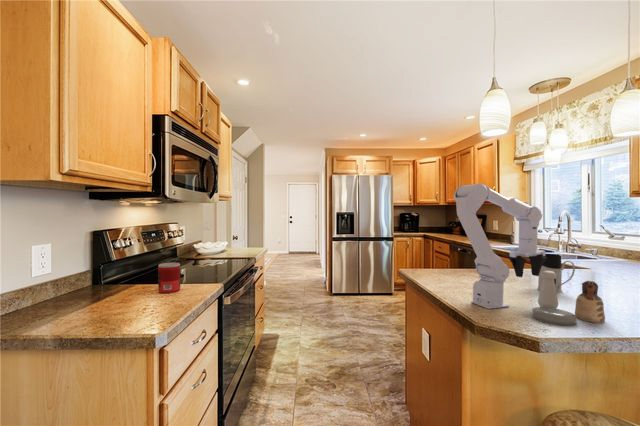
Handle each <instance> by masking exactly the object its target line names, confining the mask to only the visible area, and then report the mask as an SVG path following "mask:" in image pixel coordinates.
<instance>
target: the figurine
mask: <svg viewBox="0 0 640 426" xmlns="http://www.w3.org/2000/svg"><path fill="white" fill-rule="evenodd" d="M581 285H582V286H581V292H582V293H580V294H579V295H577V297H576V299H575V309H574V315H576V319H578V320H582V321H585V322H589V323H596V324H597V323H599V324H602V323H605V322H606V321H605V320H606V315H605V309H604V305H605V304H604V301H603V300H602V297H600V296H599V295H598V292H599V285H598V284H597V282H595V281H593V280H586V281H584V282H582V283H581Z"/></svg>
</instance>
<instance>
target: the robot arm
mask: <svg viewBox="0 0 640 426" xmlns="http://www.w3.org/2000/svg"><path fill="white" fill-rule="evenodd" d="M453 199H454V201H455V205H456V215H457V218H458V220H459V222H460V224H461V226H462V228H463V230H464V231H465V234H466V236H467V239H468V241H469V242H470V245H471V247H472V249H473V251H474V253H475V255H476V257H475V259H474V264H475V271H476V273H477V274H478V275H479V279H478V280H476V281H475V282H474V283H473V286H472V300H471V301H470V302H471V303H473V304H474V305H477V306H480V307H482V308H484V309H499V308H508V307H510V305H509V304H507V303H505V302H504V285H505V284H504V282H506V280H507V279H508V277H509V275H510V268H509V266H508V264H506V263H505V262H504V261H503V259H502V258H501V257H500V256H499V255H497V253H495V252H494V250H493V248H492V246H491V244H490V241H489V239H488V237H487V236H486V235H487V234H486V232H485V231H484V229H483V226H482V225H481V223H480V220H479V218H478V216H477V211H478V210H479V209H480V208H481V207H482V205H483V204H484V203H485V201H486V202H490V203H492V204H494V205H496V206H498V207H501V210H502V212H504V213H506V214H509V215H510V216H511V217H514V218H515V220H516V221H517V222H518V249H517V250H513V251H509V256H508V259H509V261H510V262H511V264H512V267H513V270H514V273H515V277H518V278H523V276H524V267H525V265H526V262H527V258H524V257H528V259H529V262H530V270H531V271H530V272H531V275H532V276H535V277H538V276H539V273H540V270H541V267H542V265H543V263H544V262H545V261H546V257H543V256H545V254H546V250H542V249H540V250H539V249H538V227H539V226H540V221H541V220H542V218H543V214H542V211H541V209H539V208H538V207H537V206H534V205H533V206H531V205H529V204H528V203H527V202H522V201H520V199H519V198H518V197H517V196H512V197H505V196H504V195H502V194H500V193H499V192H497V191H495V190H493V189H491V188H490V186H488V185H485V184H483V183H474V184H466V185H465V184H464V185H463V184H462V185H459V186H458V187H457V188H456V189H455V192H454V194H453Z"/></svg>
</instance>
